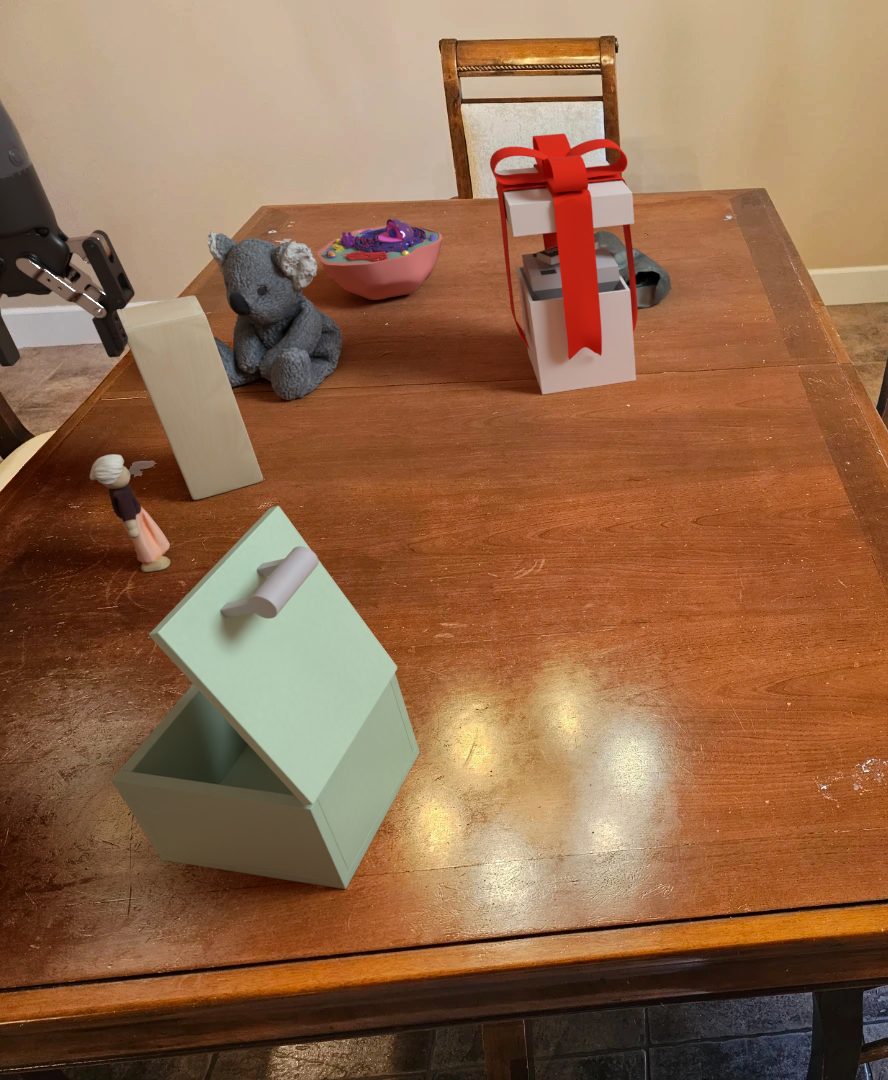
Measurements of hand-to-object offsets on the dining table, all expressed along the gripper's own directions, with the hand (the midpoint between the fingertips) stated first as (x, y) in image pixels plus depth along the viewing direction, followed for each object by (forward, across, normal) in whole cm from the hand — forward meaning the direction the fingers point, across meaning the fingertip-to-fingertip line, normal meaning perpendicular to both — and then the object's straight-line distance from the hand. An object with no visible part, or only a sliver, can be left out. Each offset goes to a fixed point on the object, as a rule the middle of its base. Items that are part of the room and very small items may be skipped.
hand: (65, 358), depth 81 cm
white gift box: (+25, -45, -39) cm, 65 cm away
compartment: (+25, -18, +32) cm, 45 cm away
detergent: (+25, -54, -68) cm, 90 cm away
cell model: (+25, -16, -72) cm, 78 cm away
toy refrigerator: (+25, -2, -18) cm, 31 cm away
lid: (+8, -22, +34) cm, 41 cm away
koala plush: (+25, -4, -46) cm, 53 cm away
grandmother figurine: (+25, +2, -3) cm, 25 cm away
